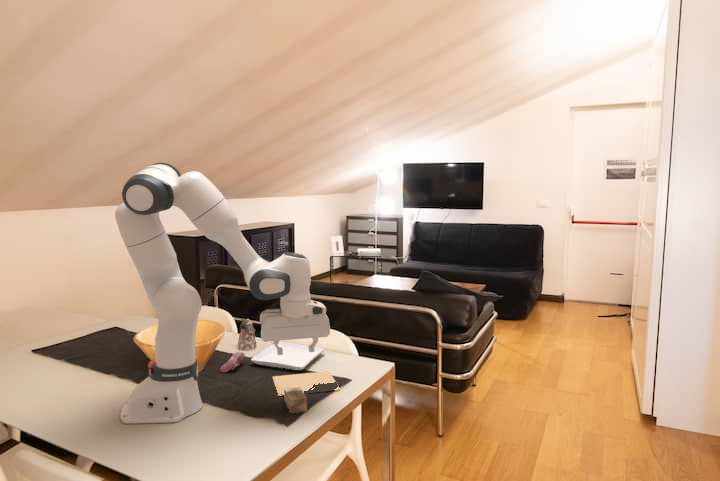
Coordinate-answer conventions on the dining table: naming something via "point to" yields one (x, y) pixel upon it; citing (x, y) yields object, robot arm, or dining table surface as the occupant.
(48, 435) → the dining table surface
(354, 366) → the dining table surface
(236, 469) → the dining table surface
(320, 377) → the cork mat
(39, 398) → the dining table surface
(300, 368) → the salad plate
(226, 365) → the pink oblong lump
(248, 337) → the figurine
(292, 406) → the walnut card box
